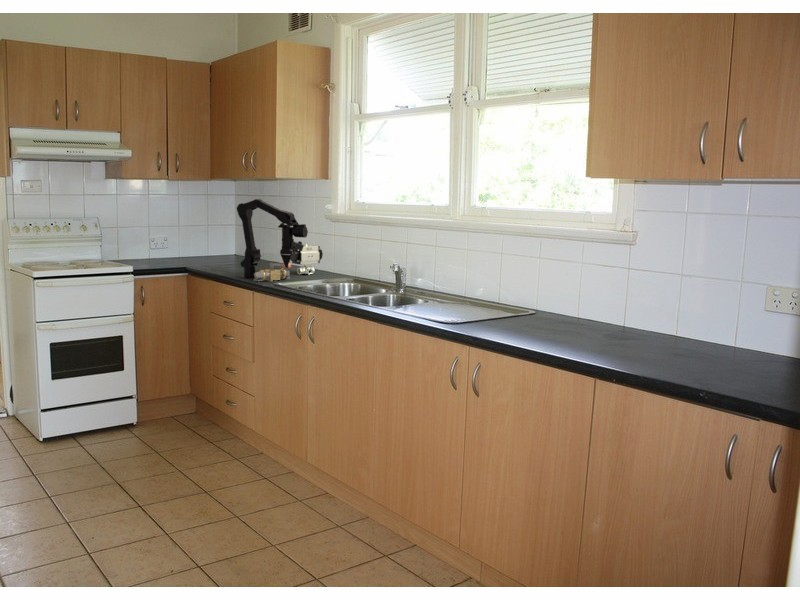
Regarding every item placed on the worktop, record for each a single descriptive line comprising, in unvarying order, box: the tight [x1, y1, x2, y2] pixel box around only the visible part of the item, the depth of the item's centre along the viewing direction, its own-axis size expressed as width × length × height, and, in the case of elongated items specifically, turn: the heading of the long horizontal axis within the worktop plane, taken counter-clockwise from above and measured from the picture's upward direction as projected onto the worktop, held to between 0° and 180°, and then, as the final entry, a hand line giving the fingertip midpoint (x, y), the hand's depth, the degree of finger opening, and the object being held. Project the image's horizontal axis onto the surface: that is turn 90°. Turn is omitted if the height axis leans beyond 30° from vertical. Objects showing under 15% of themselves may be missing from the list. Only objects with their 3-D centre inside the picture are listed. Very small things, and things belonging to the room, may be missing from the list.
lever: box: [268, 262, 292, 270], centre depth 376 cm, size 12×4×4 cm, turn 78°
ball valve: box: [290, 242, 324, 276], centre depth 402 cm, size 18×8×18 cm, turn 131°
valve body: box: [253, 267, 291, 282], centre depth 377 cm, size 20×6×6 cm, turn 136°
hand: (287, 266), depth 377 cm, fingers open, 9 cm apart
